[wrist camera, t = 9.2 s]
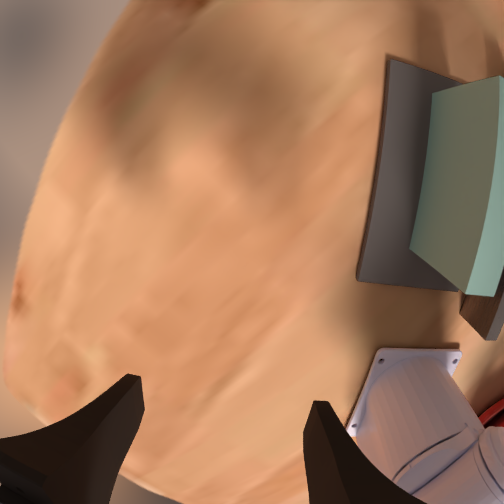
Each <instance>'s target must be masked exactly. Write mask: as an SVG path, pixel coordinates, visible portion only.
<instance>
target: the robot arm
mask: <svg viewBox="0 0 504 504" xmlns="http://www.w3.org/2000/svg"><path fill="white" fill-rule="evenodd" d="M461 356H462V352H461V351H460V349H411V348H381V349H379V350H378V351H377V353H376V355H375V358H374V361H373V363H372V366H371V369H370V371H369V374H368V377H367V379H366V382H365V384H364V387H363V389H362V392H361V394H360V397H359V399H358V402H357V404H356V406H355V409H354V411H353V414H352V416H351V418H350V420H349V423H348V425H347V427H346V429H345V428H344V426H343V425H342V423H341V422H340V420H339V418H338V417H337V415H336V413H335V412H334V410H333V408H332V406H331V405H330V403H329V402H328V401H313V404H312V407H311V410H310V413H309V416H308V419H307V422H306V425H305V428H304V431H303V453H304V461H305V469H306V476H307V484H308V491H309V504H504V427H494V426H490V427H488V428H486V429H485V428H484V427H483V425H482V423H481V422H480V420H479V419H478V417H477V415H476V414H475V412H474V410H473V409H472V407H471V406H470V404H469V403H468V401H467V400H466V398H465V396H464V395H463V393H462V392H461V390H460V389H459V387H458V386H457V384H456V383H455V381H454V380H453V378H452V375H453V373H454V371H455V369H456V367H457V365H458V363H459V360H460V358H461ZM382 358H383V360H381V361H379V360H380V359H382ZM454 359H455V360H454ZM453 360H454V361H453ZM144 410H145V407H144V399H143V391H142V382H141V376H137V375H132V374H126V375H125V376H124V377H122V378H121V379H120V380H119V381H118V382H116V383H115V384H114V385H113V386H111V387H110V388H109V389H108V390H107V391H105V392H104V393H103V394H101V395H100V396H99V397H97V398H96V399H95V400H93V401H92V402H91V403H89V404H88V405H86V406H85V407H83V408H82V409H80V410H79V411H77V412H75V413H74V414H72V415H70V416H68V417H67V418H65V419H63V420H61V421H59V422H56V423H54V424H52V425H49V426H47V427H44V428H42V429H39V430H36V431H33V432H30V433H27V434H22V435H18V436H13V437H7V438H1V439H0V483H1V486H0V504H109V501H110V498H111V494H112V490H113V487H114V484H115V481H116V478H117V475H118V472H119V470H120V467H121V465H122V463H123V461H124V459H125V456H126V454H127V452H128V450H129V448H130V446H131V444H132V442H133V440H134V438H135V435H136V433H137V431H138V429H139V426H140V423H141V420H142V417H143V414H144ZM350 436H356V439H357V444H358V446H357V445H356V443H355V442H354V441H353V439H352V438H351V437H350Z"/></svg>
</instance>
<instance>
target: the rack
mask: <svg viewBox="0 0 504 504" xmlns="http://www.w3.org/2000/svg"><path fill="white" fill-rule="evenodd" d="M460 315H461V316H462V317H463V318H464V319H465V320H466V321H467V322H468V323H469V324H470V325H471V326H472V327H473V328H474V329H475V330H476V331H477V332H478V333H479V335H480V336H481V337H482V338H483V339H484V340H485V341H486V340H497V338H498V335H499V333H500V331H501V328H502V326H503V323H504V267H503V270H502V273H501V277H500V280H499V283H498V286H497V289H496V292H495V295H494V297H491V296H481V295H470V294H466V297H465V300H464V303H463V306H462V309H461V311H460Z"/></svg>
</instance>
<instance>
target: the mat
mask: <svg viewBox="0 0 504 504" xmlns="http://www.w3.org/2000/svg"><path fill="white" fill-rule="evenodd" d="M460 85H463V84H462V83H459V82H457V81H454V80H452V79H449V78H447V77H444V76H441V75H439V74H436V73H433V72H431V71H428V70H425V69H422V68H419V67H416V66H413V65H410V64H406V63H403V62H400V61H397V60H393V59H390V60H388V61H387V75H386V89H385V101H384V111H383V121H382V130H381V138H380V146H379V154H378V161H377V168H376V175H375V181H374V187H373V194H372V199H371V205H370V211H369V216H368V222H367V227H366V232H365V237H364V242H363V247H362V252H361V256H360V261H359V265H358V270H357V274H356V279H357V280H358V281H360V282H369V283H378V284H388V285H397V286H406V287H415V288H425V289H435V290H444V291H454V292H458V290H459V288H457V287H456V286H455V285H454V284H453V283H451V282H450V281H449V280H448V279H447V278H445V277H444V276H443V275H442V274H440V273H439V272H438V271H437V270H436V269H434V268H433V267H432V266H431V265H429V264H428V263H427V262H426V261H424V260H423V259H422V258H421V257H419V256H418V255H417V254H415V253H414V252H413V251H412V250H410V249H409V247H410V243H411V238H412V234H413V229H414V224H415V220H416V215H417V209H418V204H419V199H420V193H421V187H422V181H423V175H424V168H425V161H426V154H427V146H428V137H429V128H430V117H431V105H432V93H435V92H439V91H442V90H445V89H449V88H452V87H456V86H460Z"/></svg>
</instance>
